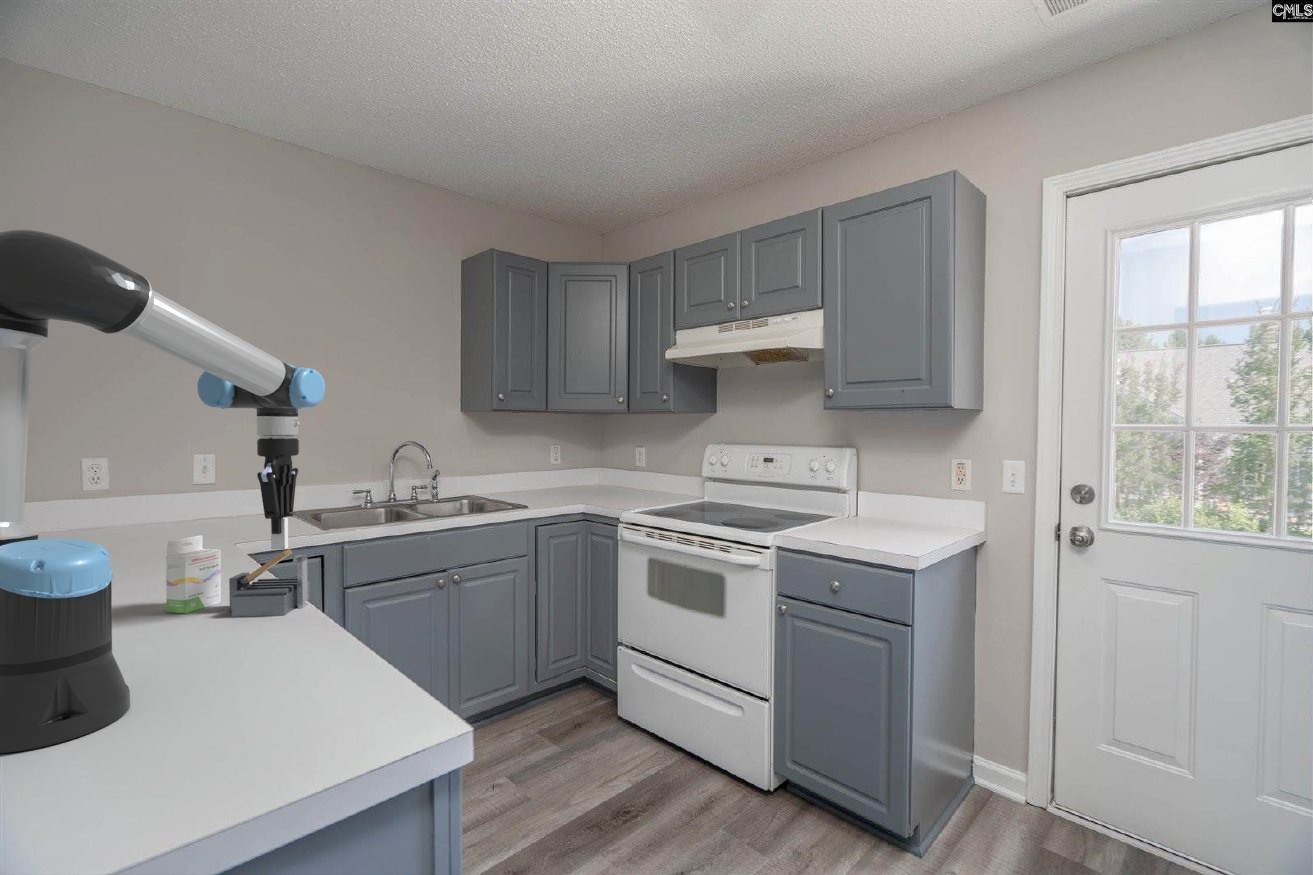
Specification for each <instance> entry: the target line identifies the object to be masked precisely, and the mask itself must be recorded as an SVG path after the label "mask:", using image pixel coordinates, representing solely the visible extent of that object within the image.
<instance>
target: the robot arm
mask: <svg viewBox="0 0 1313 875" xmlns="http://www.w3.org/2000/svg"><path fill="white" fill-rule="evenodd" d="M49 320H52V321H53V320H55V321H62V322H69V323H70V322H72V323H75V324H80V325H84V326H87V327H90V328H93V329H95V330H97V331H99V332H101V333H104V334H106V335H116V334H117V335H118V334H120V333H121V334H123V335H125V336H127V337H130V338H131V339H134V340H135V341H136V340H137V341H138V342H141V343H142V344H145V345H147V346H149V347H151V348H154V349H156V350H159V351H160V352H163V353H164V354H167V355H169V356H171V357H173V358H175V359H177V360H180V361H182V362H184V363H187V364H189V365H191V366H193V367H195V368H197V369H200V370H202V371H203V372H202V373H201V374H200V376H199V378H198V380H197V390H196V391H197V394H198V397H199V399H200V400H201V402H202V403H203V404H204V405H206V406H208V407H210V408H219V409H221V410H222V409H255V410H256V436H258V437H259V438H258V439H257V442H256V444H257V445H256V446H257V448H256V452H257V454H256V455H257V456H259V457H264V462H263V463H264V464H263V468H264V470H263V471H262V472H261V471H258V472H257V473H256V474H257V479H258V482H259V485H260V486H259V487H260V492H261V500H262V501H261V502H262V507H263V513H264V518H265V519H266V520H267V519H268V520H269V519H270V543H271V544H270V546H271V548H270V550H287V549H289V517H293V516H294V505H295V496H296V482H297V477H298V473H299V468H298V467H293V460H292V457H294V456H298V455H299V454H300V453H299V452H300V445H299V444H300V441H299V438H297V437H296V436H298V435H299V427H300V425H301V422H300V421H299V409H300V410H301V409H302V408H304V409H305V408H313V407H316V406H318V405H319V404H320V403H322V401H323V399H324V398H325V393H326V383H325V380H324V377H323V376H322V374H321V373H320V372H319V371H317V370H316V369H314V368H306V367H303V366H300V367H296V366H294V364H293V365H292V364H290V363H289V364H288V363H286V362H284V361H282V360H280V359H278V358H276V357H275V356H273V355H271V354H269V353H268V352H266V351H264V350H262V349H260V348H259V347H256V346H255V345H253V344H251V343H249V342H248V341H245V339H242V338H241V337H239V336H237V335H235V334H233V333H231V332H229V331H227V330H226V329H223V328H222V327H221V326H218V325H217V324H215V323H213V322H211V321H210V320H208V319H207V318H204V317H203V316H200V315H199V314H197V313H195V312H193V311H191V310H190V309H188V308H186V307H184V306H182V305H181V304H179V303H177V302H176V301H173V300H172V299H170V298H167V297H166V296H164V295H162V294H160V293H159V292H157V291H155V290H154V289H152V285H151V282H150V281H149V280H148V279H147V277H144V276H143V275H141V274H139V273H137V271H136V272H135V271H134V270H132V269H131V268H129V267H127V266H125V265H123V264H122V263H119V262H117V261H116V260H114V259H112V258H109V257H108V256H106V255H104V254H101V253H100V252H98V251H96V250H94V249H91V248H89V247H86V246H85V245H82V244H81V243H78V242H76V241H73V240H71V239H68V238H65V237H63V236H59V235H56V234H53V233H49V232H45V231H39V230H32V229H12V230H6V231H0V754H5V753H6V754H7V753H15V752H22V751H28V750H34V749H38V748H39V749H40V748H43V747H47V746H52V745H56V744H60V743H63V742H67V741H69V740H72V739H76V738H79V737H81V736H85V735H88V734H90V733H93V732H95V731H98V730H100V729H102V728H105V727H107V726H109V725H110V724H112V723H114V722H116V721H117V720H119V719H121V718H122V717H123V716H124V715H126V714H127V713H128V711H129V710H130V709H131V691H130V688H129V685H128V684H126V681H125V678H124V676H123V673H122V671H121V669H120V667H119V664H118V662H117V661H116V659H115V657H114V652H113V615H112V614H113V613H112V612H113V610H112V609H113V608H112V606H113V605H112V604H113V603H112V601H113V600H112V598H113V597H112V593H113V592H112V587H113V586H112V582H113V581H112V579H113V578H114V577H113V576H114V572H113V569H112V563H111V558H110V553H109V551H108V550H107V549H106V547H104V546H103V545H101V544H99V543H97V542H92V541H89V540H83V539H72V538H66V539H58V538H45V539H44V538H43V539H42V538H41V539H39V531H38V530H37V529H36V528H34V527H33V526H31V525H30V524H29V523H27V522H26V521H25V517H24V516H25V499H26V498H25V497H26V479H27V478H26V476H27V461H28V460H27V458H28V439H29V438H28V436H29V417H30V416H29V415H30V413H29V412H30V395H31V393H30V392H31V375H32V373H31V372H32V353H33V351H34V350H35V349H37V348H39V347H40V346H42V345H44V344H46V343H47V342H48V336H49Z"/></svg>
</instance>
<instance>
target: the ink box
mask: <svg viewBox="0 0 1313 875" xmlns="http://www.w3.org/2000/svg"><path fill="white" fill-rule="evenodd" d="M185 543H187V544H190V545H186V546H181V545H184V544H185ZM203 543H204V537H203V535H196V536H190V537H184V538H179V539H175V540H168V542H167V547H166V548H167V549H166V550H167V551H166V553H167V554H166V559H165V560H166V562H165V564H166V566H165V567H166V569H165V571H166V573H165V574H166V576H165V577H166V613H173V614H189V613H192V612H195V611H200V610H202V609H205V608H208V607H211V606H215V605H218V604H220V603H221V602H222V601H221V600H222V585H221V584H222V583H221V582H222V573H221V572H222V571H221V570H222V567H221V566H222V563H221V562H222V553H221V552H222V550H221V549H213V548H211V549H210V548H203V545H204V544H203ZM180 546H181V547H180Z"/></svg>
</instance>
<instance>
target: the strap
mask: <svg viewBox="0 0 1313 875" xmlns="http://www.w3.org/2000/svg"><path fill="white" fill-rule="evenodd" d="M291 554H293V551H292V549H291V548H287V549H285V550H284V551H282V552H280V553H279V554H278V555H275V557H273V558H272V559H270V560H269V561H267V562H266V563H265V564H263V565H261V566H260V567H258V568H257V569H255V570H254V571H253V572H251V573H249V575H248V576H247V577H245V578H244V579H241V580H240V581H239V584H240V585H244V584H246V583H249V582H251V583H252V582H254V581H255V579H256V578H258V577H259V576H261V575H262V574H264V573H266V572H267V571H268V570H270V569H271V568H272V567H274V566H276V565H277V564H278V563H280V562H281V561H282V560H284V559H286V558H287V557H288V556H290V555H291Z"/></svg>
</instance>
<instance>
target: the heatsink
mask: <svg viewBox="0 0 1313 875" xmlns="http://www.w3.org/2000/svg"><path fill="white" fill-rule="evenodd" d="M292 562H293V563H296V566H297V568H296V569H297V571H296V572H297V575H296V576H297V577H283V578H282V577H281V578H277V577H276V578H258V579H257V581H255V580H254V581H251V583H250V582H249V583H246V584H244V585H240V584H239V581H240V580H241V579H244V578H245V577H247V576H248V575H250V572H240V573H239V574H235V575H234V576H231V577H229V579H228V581H229V584H228V585H229V586H228V587H229V589H228V590H229V613H231V618H241V617H242V618H243V617H246V618H247V617H269V616H270V617H271V616H286V615H287V614H289V613H290V612H292V611H294V610H295V609H296V608H297V609H303V608H306V607H307V606H308V604H309V603H308V604H307V603H306V602H305V601H307V602H308V601H309V600H311V581H310V580H308V554H298V555H295V556H293V557H292Z"/></svg>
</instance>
